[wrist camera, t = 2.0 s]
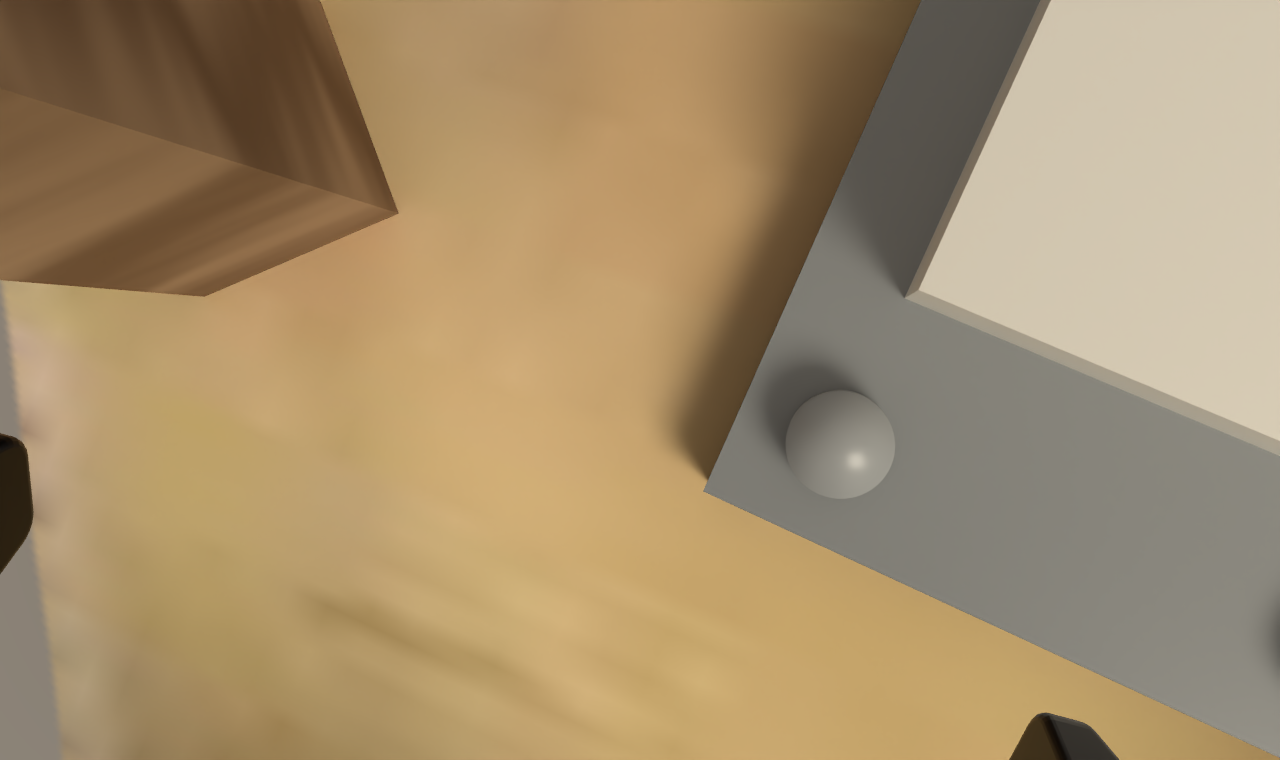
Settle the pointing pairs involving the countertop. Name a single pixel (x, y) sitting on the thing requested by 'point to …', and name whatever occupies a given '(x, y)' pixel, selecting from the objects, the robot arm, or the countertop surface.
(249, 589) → the countertop surface
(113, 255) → the walnut brick
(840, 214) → the base brick
